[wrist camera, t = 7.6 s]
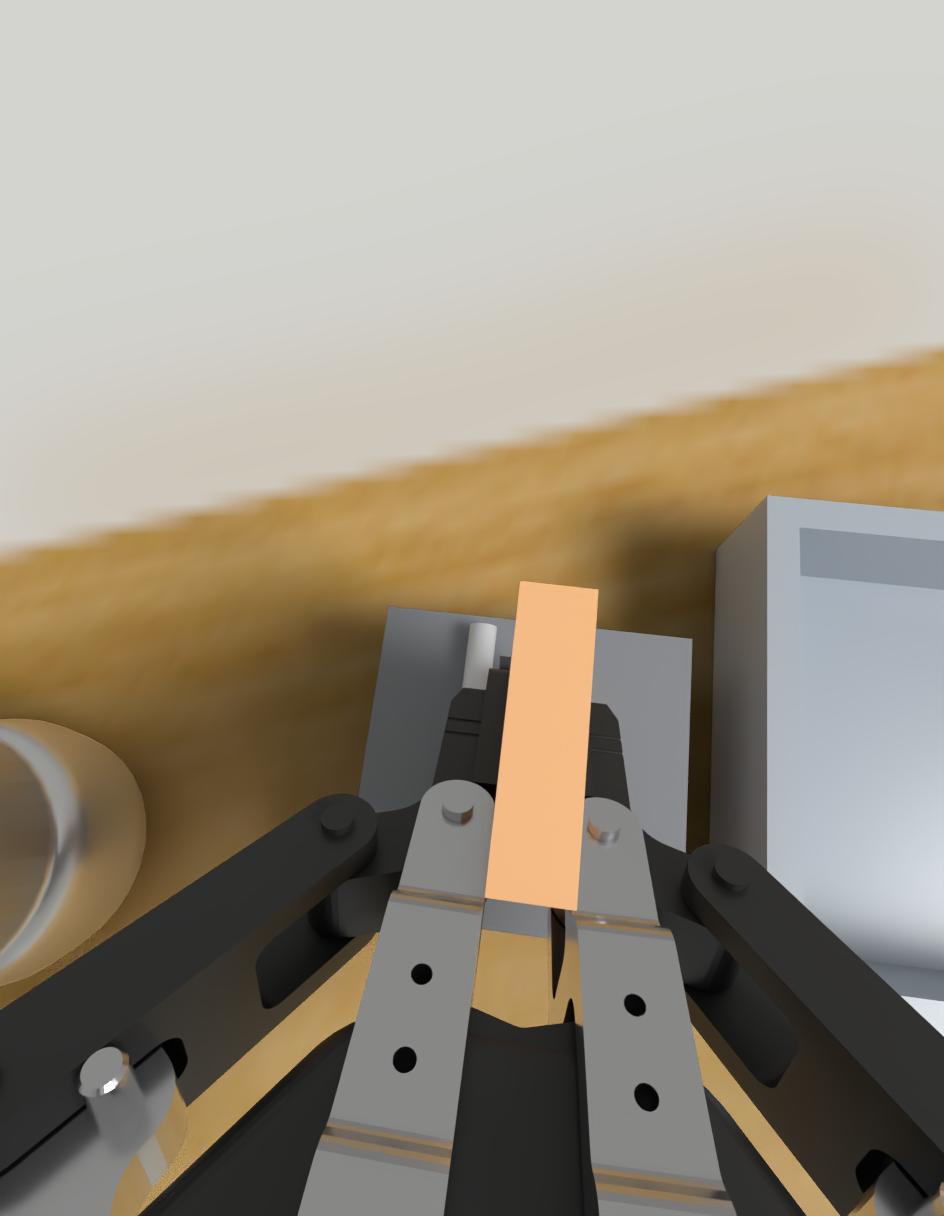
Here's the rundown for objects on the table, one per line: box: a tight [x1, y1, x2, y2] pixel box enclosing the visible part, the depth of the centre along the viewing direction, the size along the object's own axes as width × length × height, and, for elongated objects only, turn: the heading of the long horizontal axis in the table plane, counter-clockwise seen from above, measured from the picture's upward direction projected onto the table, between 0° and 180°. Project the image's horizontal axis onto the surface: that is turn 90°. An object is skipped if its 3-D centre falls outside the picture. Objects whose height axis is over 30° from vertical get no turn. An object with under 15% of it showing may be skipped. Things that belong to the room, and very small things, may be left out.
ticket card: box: [485, 581, 598, 911], centre depth 14 cm, size 1×4×10 cm, turn 173°
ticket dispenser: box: [358, 606, 692, 938], centre depth 17 cm, size 8×8×4 cm
